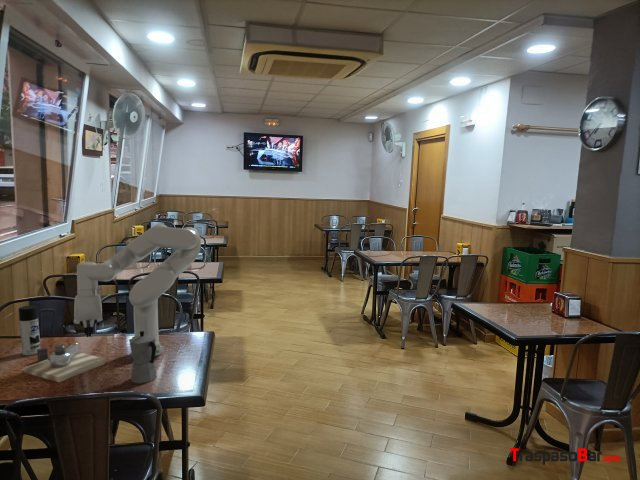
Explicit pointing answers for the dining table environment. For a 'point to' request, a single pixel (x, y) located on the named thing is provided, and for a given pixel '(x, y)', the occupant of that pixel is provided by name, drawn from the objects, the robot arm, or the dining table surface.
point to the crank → (63, 354)
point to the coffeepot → (143, 358)
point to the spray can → (29, 330)
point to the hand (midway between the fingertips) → (88, 335)
